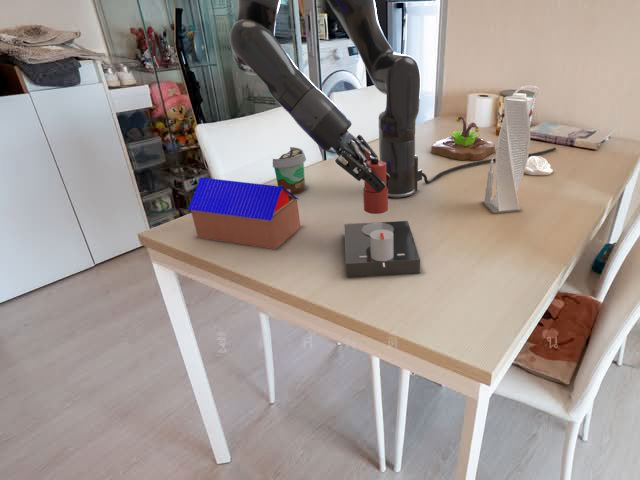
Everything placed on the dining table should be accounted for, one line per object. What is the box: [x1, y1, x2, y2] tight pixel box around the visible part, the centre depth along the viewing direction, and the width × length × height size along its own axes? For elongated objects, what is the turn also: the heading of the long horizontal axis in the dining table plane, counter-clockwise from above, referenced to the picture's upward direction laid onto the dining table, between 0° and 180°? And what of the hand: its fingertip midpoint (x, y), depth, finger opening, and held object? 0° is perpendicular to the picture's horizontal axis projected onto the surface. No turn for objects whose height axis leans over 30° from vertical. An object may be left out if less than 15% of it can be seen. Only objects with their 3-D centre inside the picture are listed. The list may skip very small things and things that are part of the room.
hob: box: [343, 220, 421, 279], centre depth 93 cm, size 20×14×3 cm
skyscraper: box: [482, 84, 540, 215], centre depth 107 cm, size 8×8×28 cm
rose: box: [524, 155, 554, 176], centre depth 138 cm, size 10×4×10 cm
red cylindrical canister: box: [362, 157, 389, 215], centre depth 92 cm, size 5×5×10 cm
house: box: [187, 177, 302, 250], centre depth 100 cm, size 12×20×12 cm, turn 73°
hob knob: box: [370, 229, 394, 261], centre depth 86 cm, size 4×4×5 cm
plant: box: [430, 116, 496, 162], centre depth 154 cm, size 20×20×11 cm
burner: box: [362, 222, 394, 236], centre depth 97 cm, size 7×7×1 cm
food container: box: [272, 146, 307, 196], centre depth 123 cm, size 12×6×10 cm, turn 168°
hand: (384, 184), depth 92 cm, fingers closed on red cylindrical canister, 4 cm apart
